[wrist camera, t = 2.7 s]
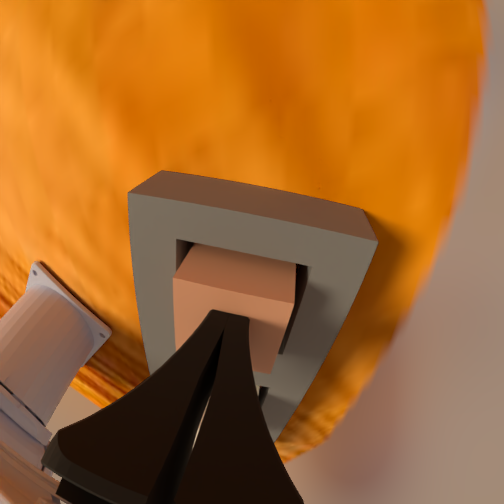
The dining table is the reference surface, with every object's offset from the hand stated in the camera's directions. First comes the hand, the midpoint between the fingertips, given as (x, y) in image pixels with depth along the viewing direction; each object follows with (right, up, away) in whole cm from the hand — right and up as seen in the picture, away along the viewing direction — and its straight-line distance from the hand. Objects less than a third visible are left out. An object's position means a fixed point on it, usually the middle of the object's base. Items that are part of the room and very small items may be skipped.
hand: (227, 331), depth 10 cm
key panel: (-1, -5, +8) cm, 9 cm away
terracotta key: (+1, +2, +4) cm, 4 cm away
